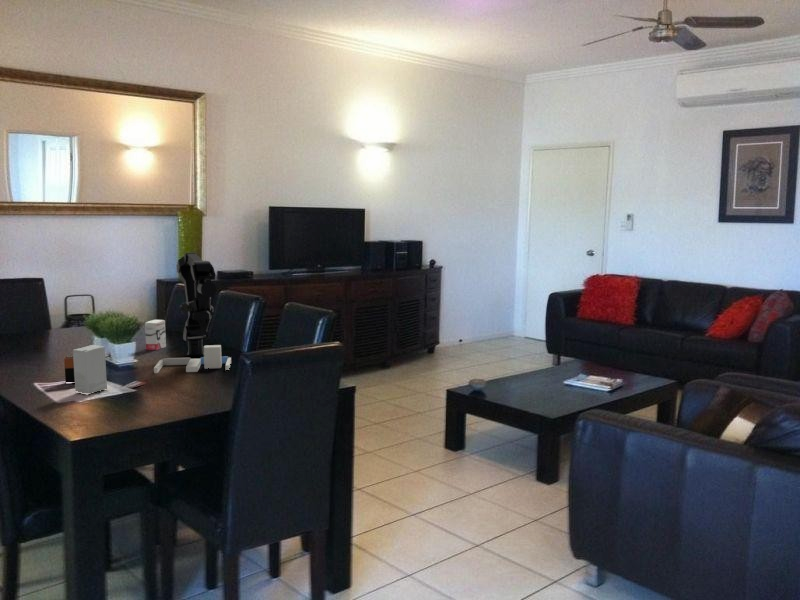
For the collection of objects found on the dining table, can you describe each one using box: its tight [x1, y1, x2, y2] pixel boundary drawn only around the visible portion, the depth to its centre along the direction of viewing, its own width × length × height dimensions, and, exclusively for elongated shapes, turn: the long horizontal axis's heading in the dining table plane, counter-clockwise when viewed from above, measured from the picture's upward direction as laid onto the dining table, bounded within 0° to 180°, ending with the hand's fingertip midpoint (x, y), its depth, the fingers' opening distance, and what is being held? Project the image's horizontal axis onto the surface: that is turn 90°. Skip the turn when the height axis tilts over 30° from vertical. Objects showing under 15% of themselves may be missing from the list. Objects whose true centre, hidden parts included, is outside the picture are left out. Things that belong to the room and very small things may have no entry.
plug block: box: [203, 344, 223, 370], centre depth 272 cm, size 4×6×8 cm, turn 100°
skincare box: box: [72, 344, 108, 393], centre depth 235 cm, size 8×6×15 cm
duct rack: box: [153, 355, 232, 374], centre depth 271 cm, size 14×26×2 cm, turn 100°
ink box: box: [144, 319, 167, 351], centre depth 307 cm, size 8×5×12 cm, turn 169°
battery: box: [63, 353, 75, 383], centre depth 248 cm, size 4×7×10 cm, turn 110°
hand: (203, 334), depth 280 cm, fingers closed
